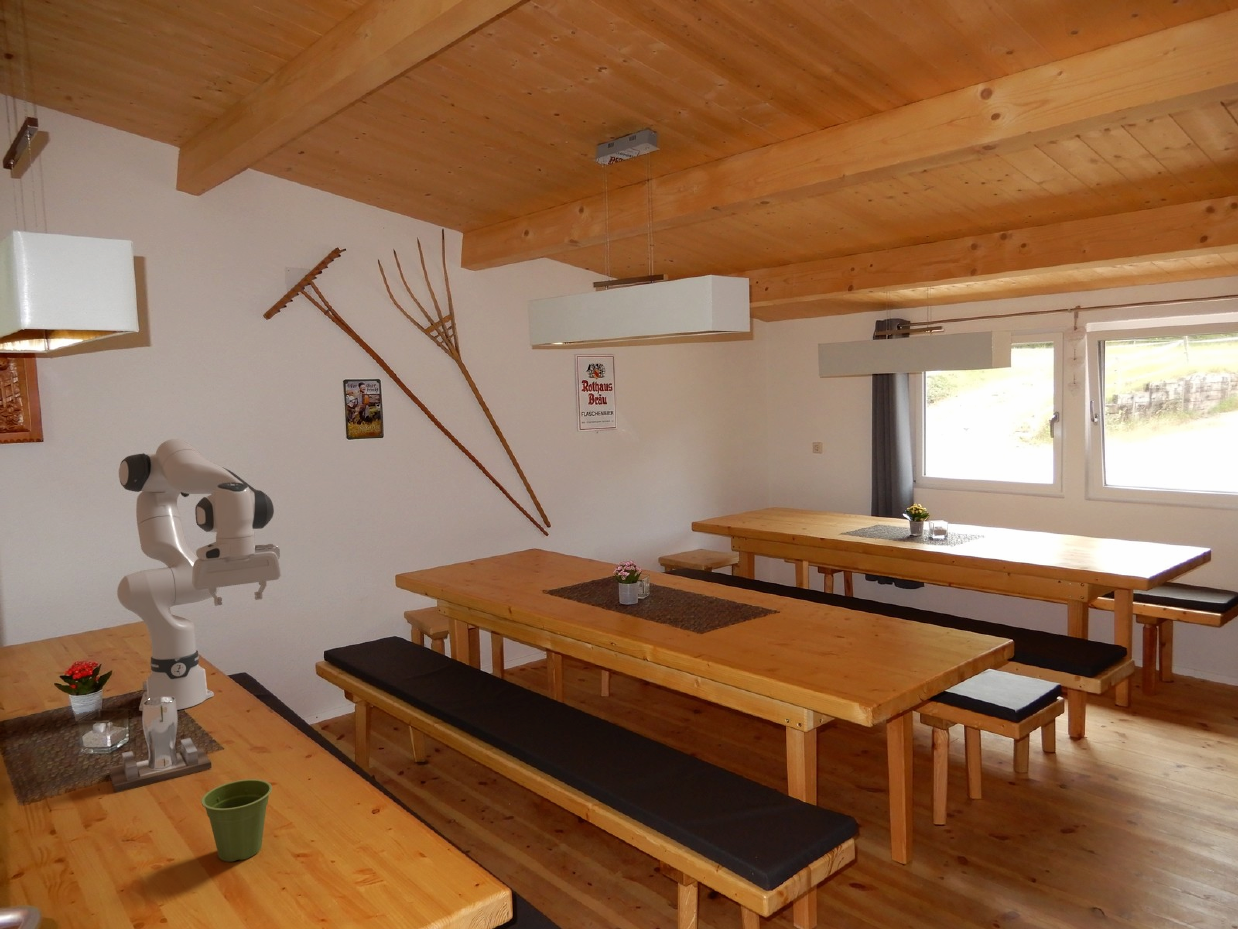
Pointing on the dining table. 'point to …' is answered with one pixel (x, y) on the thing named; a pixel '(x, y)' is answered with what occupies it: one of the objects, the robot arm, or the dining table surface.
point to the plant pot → (238, 817)
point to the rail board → (140, 775)
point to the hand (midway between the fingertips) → (238, 602)
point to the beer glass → (160, 731)
